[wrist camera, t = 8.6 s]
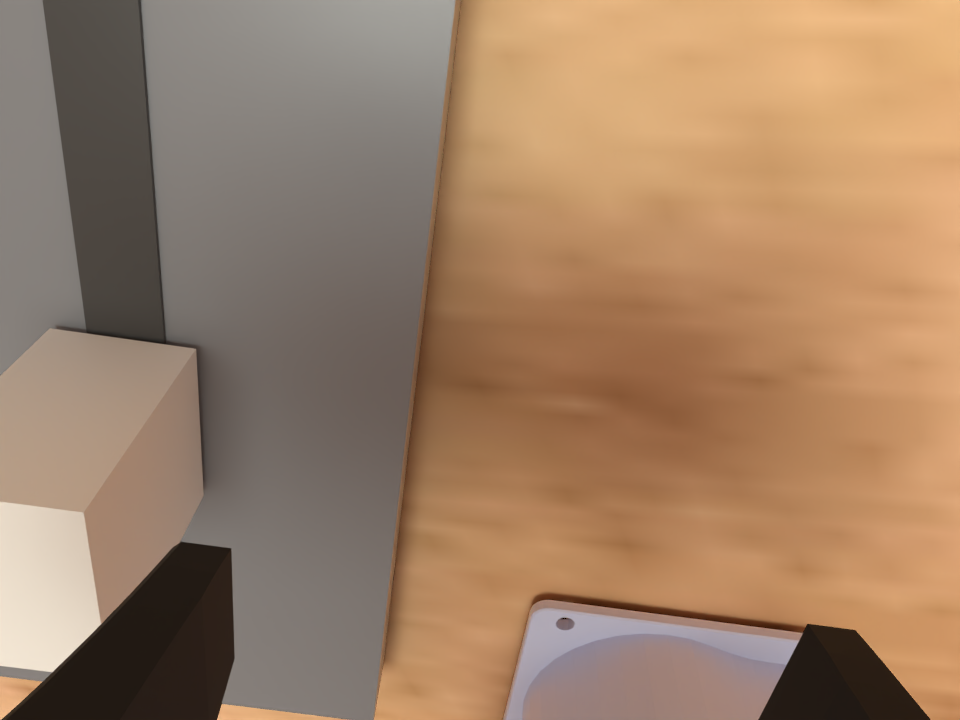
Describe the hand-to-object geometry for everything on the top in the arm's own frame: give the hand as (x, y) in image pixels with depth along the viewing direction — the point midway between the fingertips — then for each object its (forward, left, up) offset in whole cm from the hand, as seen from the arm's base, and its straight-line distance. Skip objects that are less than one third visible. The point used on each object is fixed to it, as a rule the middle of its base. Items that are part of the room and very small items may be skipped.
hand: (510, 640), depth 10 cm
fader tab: (+8, +3, -7) cm, 11 cm away
